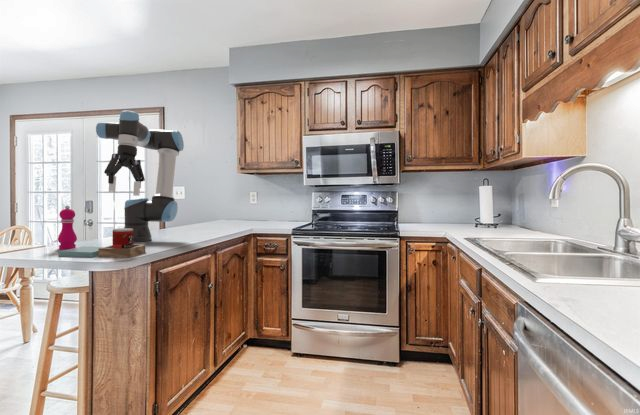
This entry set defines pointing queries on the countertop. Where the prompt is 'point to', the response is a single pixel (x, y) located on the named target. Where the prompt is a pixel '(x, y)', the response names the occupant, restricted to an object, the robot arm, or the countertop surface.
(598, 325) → the countertop surface
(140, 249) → the collar
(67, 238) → the pepper mill
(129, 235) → the canned food
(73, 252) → the plate
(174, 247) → the countertop surface
